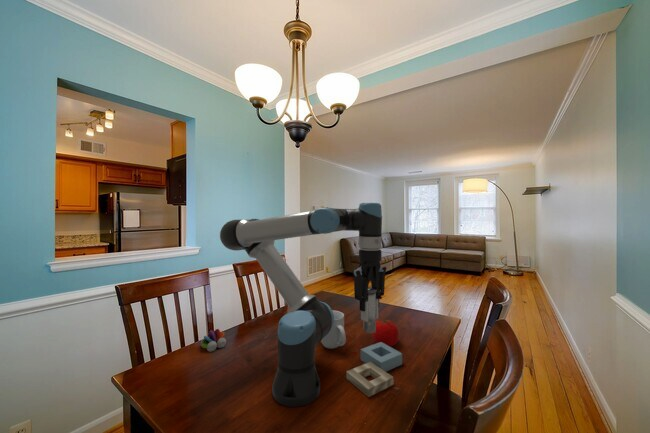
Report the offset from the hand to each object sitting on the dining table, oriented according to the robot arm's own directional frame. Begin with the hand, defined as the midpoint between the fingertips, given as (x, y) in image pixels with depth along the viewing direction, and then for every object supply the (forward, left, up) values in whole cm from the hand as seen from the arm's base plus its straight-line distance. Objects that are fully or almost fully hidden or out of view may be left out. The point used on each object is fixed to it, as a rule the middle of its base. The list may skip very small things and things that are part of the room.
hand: (369, 318), depth 89 cm
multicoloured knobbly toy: (-39, +53, -22) cm, 69 cm away
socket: (+12, +6, -21) cm, 25 cm away
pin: (0, 0, -4) cm, 4 cm away
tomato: (+24, +15, -21) cm, 35 cm away
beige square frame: (0, 0, -21) cm, 21 cm away
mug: (+4, +26, -21) cm, 34 cm away
